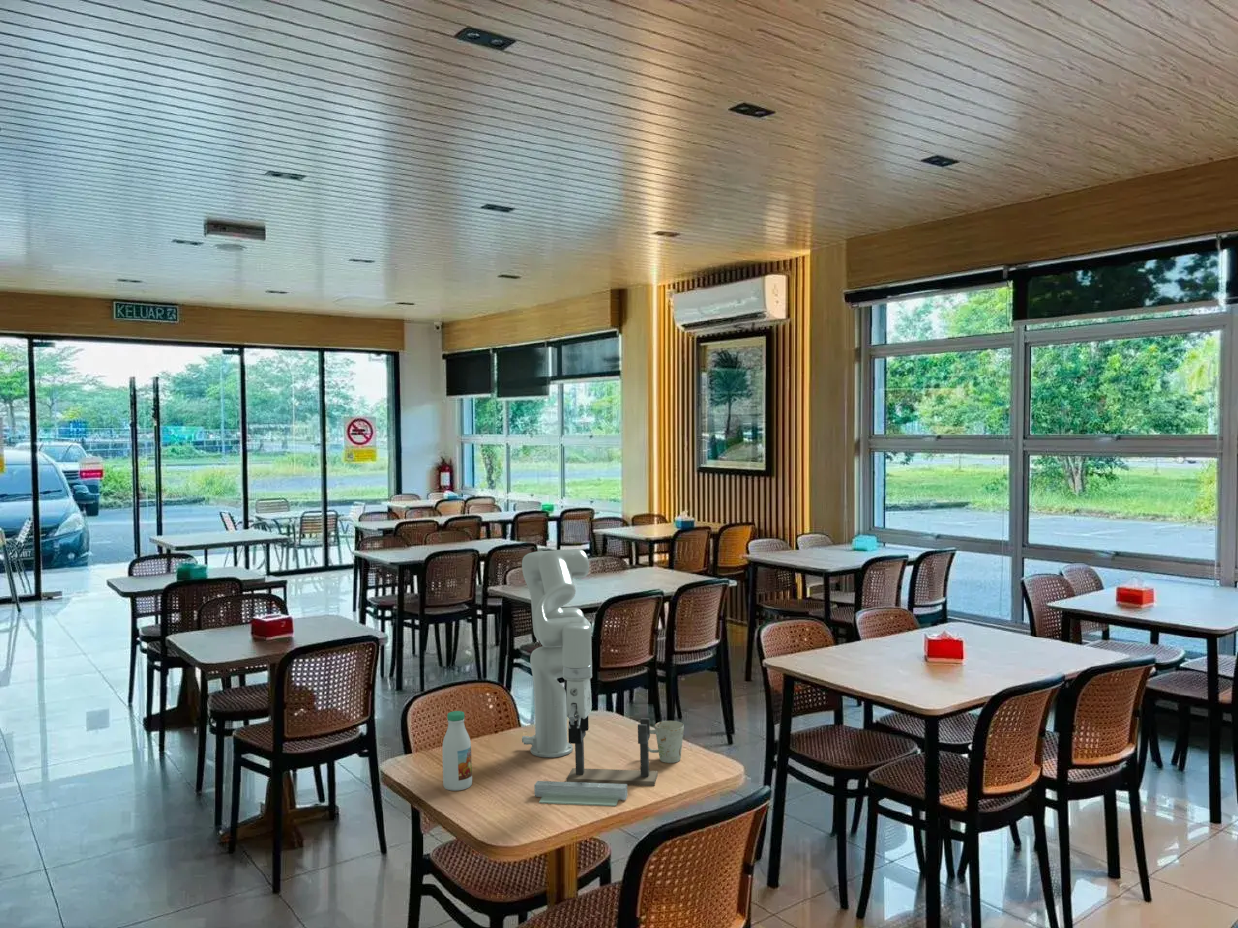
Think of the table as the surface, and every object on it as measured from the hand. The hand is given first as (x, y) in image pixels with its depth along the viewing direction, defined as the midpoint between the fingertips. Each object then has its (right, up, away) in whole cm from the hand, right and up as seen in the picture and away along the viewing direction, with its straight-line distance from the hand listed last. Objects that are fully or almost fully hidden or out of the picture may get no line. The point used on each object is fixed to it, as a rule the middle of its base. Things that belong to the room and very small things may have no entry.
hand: (578, 736), depth 238 cm
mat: (+1, -16, 0) cm, 16 cm away
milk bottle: (-33, -17, +10) cm, 39 cm away
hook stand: (+9, -15, +13) cm, 22 cm away
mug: (+23, -15, +28) cm, 39 cm away
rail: (+1, -15, 0) cm, 15 cm away
